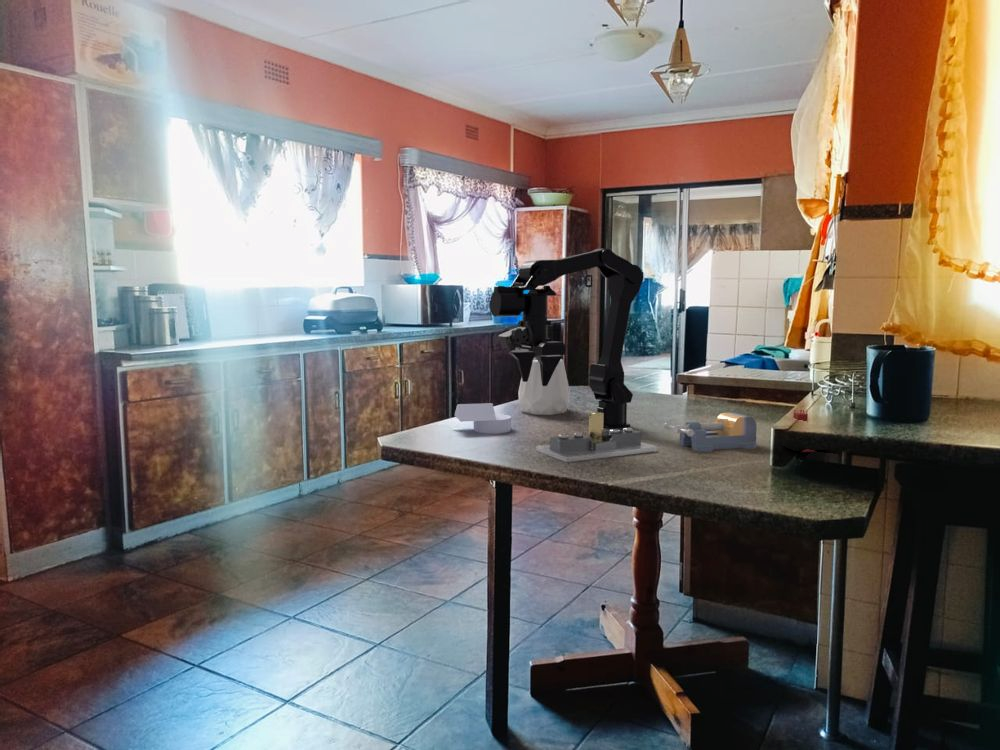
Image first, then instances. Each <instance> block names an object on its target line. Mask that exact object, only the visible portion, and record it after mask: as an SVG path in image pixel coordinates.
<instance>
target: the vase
mask: <svg viewBox="0 0 1000 750" xmlns="http://www.w3.org/2000/svg"><path fill="white" fill-rule="evenodd" d="M517 393H518V404H519V409H521V410H520V411H521V413H522V412H523V413H526V414H531V415H539V416H540V415H541V416H553V415H558V414H565V412H567V410H568V407H569V401H570V396H571V394H570V393H571V392H570V385H569V380H568V376H567V372H566V367H565V361H564V359H563V358H561V359H560V361H559V363H558V365H557V367H556V368H555V370H554V372H553V374H552V377H551V379H550V381H549V383H548V385H547V386H542V381H541V371H540V363H539V362H538V360H537V359H536V358H535V357H534V359H533V363H532V367H531V371H530V375H529V378H528V381H527V382H523V380H522V377H521V378H520V382H519V387H518V392H517Z"/></svg>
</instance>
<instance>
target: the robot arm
mask: <svg viewBox="0 0 1000 750" xmlns="http://www.w3.org/2000/svg"><path fill="white" fill-rule="evenodd" d="M593 268H597V269H598V272H599V273H600V274H601V276H603V277H604V278H605V279H606V280H607V290H608V294H609V297H610V304H609V305H610V306H609V310H608V311H609V312H608V315H607V321H606V326H605V332H604V338H603V344H602V349H601V350H602V351H601V356H600V358H599V359H598V360H597V362H596V363H592V362H591V364H590V367H589V374H588V377H587V380H589V381H588V385H589V388H590V390H591V391H592V392H593V393H592V394H593V395H594V398H595V400H598V406H597V409H596V412H602V413H604V417H603V428H606V429H618V428H629V427H631V424H630V423H627V416H628V415H627V414H628V412H627V411H628V409H627V407H628V403H629V404H630V403H632V399H633V397H634V396H633V395H634V393H632V392H631V390H630V389H629V388H628V387H627V386H626V384H625V370H624V367H623V365H622V357H623V356H622V355H623V352H624V351H623V350H624V345H625V339H626V334H627V330H628V323H629V319H630V314H631V308H632V303H633V301H634V300H635V298H636V297H637V296H638V294H640V290H641V287H642V284H643V281H644V272H643V271H642V269H641V268H640V266H638V265H637V264H633V263H631V262H630V261H629V260H627V259H625V258H624V257H621V256H619V255H618V254H616V253H615V252H614V251H612V250H610V249H609V248H606V247H605V248H595V249H594V250H591V251H587V252H583V253H580V254H575V255H574V254H573V255H570V256H565V257H562V258H558V259H537V260H527V261H525V262H522V263H521V266H520V267H519V270H518V274H517V275H516V277H515V278H514V280H513V282H512V283H511V285H510V286H504V285H494V286H493V292H492V293H491V297H490V300H489V305H488V306H489V310H490V313H491V315H492V316H493V317H494V318H495V317H519V316H520V315H521V314H522V317H521V319H522V320H521V319H520V320H518V322H517V327H514V328H513V329H510V330H507V331H505V332H503V333H501V334H499V335H498V339H499V343H500V345H501V349H502V350H504V349H505V351H508V354H509V355H511V357H513V358H514V359H515V361H516V363H517V366H518V369H519V373H520V376H521V377H522V380H523V382H527V381H528V378H529V375H530V371H531V367H532V363H533V359H534V358H536V359H537V360H538V362H539V363H540V371H541V381H542V386H547V385H548V383H549V381H550V379H551V377H552V374H553V372H554V370H555V368H556V367H557V365H558V363H559V361H560V359H563V358H564V356H565V355H567V345H566V344H565V343H564V341H557V340H556V341H554V340H552V339H551V338H550V337H549V338H548V326H551V325H552V320H548V297H551V296H552V297H556V295H557V292H556V291H555V290H553V289H552V287H551V286H550V285H548V284H551V283H552V282H554V281H557V280H558V279H559V278H560V277H563V276H566V275H568V274H569V275H570V274H573V273H577V272H580V271H581V272H582V271H586V270H590V269H593ZM541 286H542V288H538V287H541ZM525 291H528V293H524V292H525Z"/></svg>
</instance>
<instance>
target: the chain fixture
mask: <svg viewBox="0 0 1000 750" xmlns="http://www.w3.org/2000/svg"><path fill="white" fill-rule="evenodd" d="M657 449H658V448H657V446H655V445H652V444H649V443H645V442H642V431H639V430H635V429H633V428H632V427H622V429H618V428H609V429H608V430H607V431H603V441H602V442H593V447H592V437H589V435H585V434H584V433H583V432H573V433H572V434H566V433H561V434H558V435H557V436H549V444H543V445H535V451H536V452H538V453H541V454H543V455H545V456H548V457H551V458H554V459H557V460H559V461H562V462H564V463H572V462H581V461H582V462H583V461H587V460H588V461H589V460H599V459H606V458H607V459H608V458H613V457H614V458H615V457H622V456H630V455H638V454H647V453H655V452H657V451H658V450H657Z"/></svg>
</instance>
